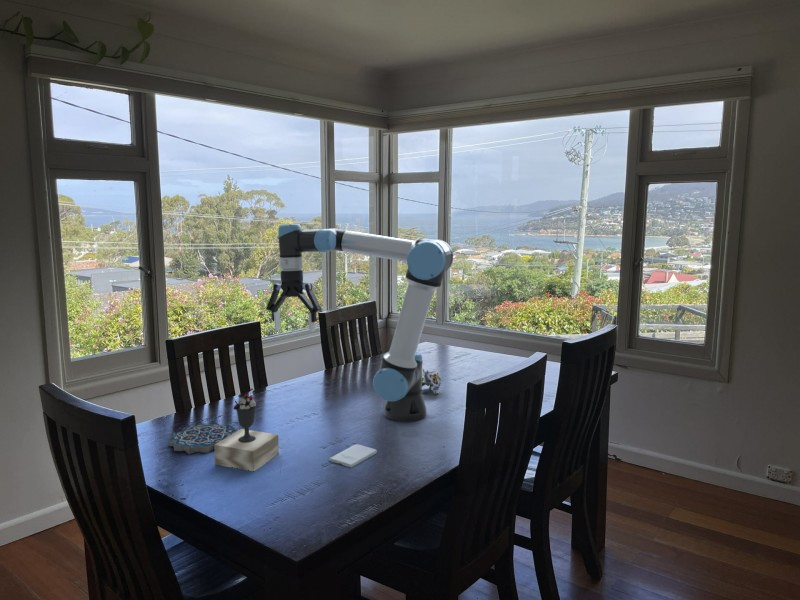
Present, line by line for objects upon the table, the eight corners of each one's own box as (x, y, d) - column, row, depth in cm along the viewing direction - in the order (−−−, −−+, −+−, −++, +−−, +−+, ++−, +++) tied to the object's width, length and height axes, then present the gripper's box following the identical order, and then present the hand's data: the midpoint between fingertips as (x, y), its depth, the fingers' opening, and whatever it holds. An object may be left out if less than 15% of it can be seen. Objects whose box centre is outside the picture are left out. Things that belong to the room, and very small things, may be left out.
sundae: (263, 436, 171) (261, 387, 169) (250, 445, 165) (248, 394, 163) (244, 433, 173) (242, 385, 171) (230, 441, 167) (228, 391, 165)
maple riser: (278, 453, 174) (278, 434, 173) (254, 471, 162) (253, 451, 161) (241, 447, 178) (241, 428, 177) (215, 464, 166) (214, 444, 165)
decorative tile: (232, 452, 175) (232, 444, 175) (163, 456, 172) (163, 449, 172) (239, 428, 195) (239, 421, 194) (177, 431, 191) (176, 424, 191)
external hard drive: (376, 454, 175) (351, 469, 165) (355, 448, 179) (329, 462, 169) (376, 449, 175) (351, 464, 164) (355, 443, 179) (329, 457, 169)
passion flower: (435, 407, 232) (438, 389, 224) (409, 400, 234) (411, 382, 226) (442, 385, 240) (444, 367, 232) (416, 379, 242) (418, 361, 233)
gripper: (254, 270, 199) (258, 331, 201) (318, 270, 190) (321, 334, 193) (266, 268, 206) (270, 327, 208) (329, 268, 197) (332, 330, 200)
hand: (294, 330), depth 201 cm, fingers open, 13 cm apart
